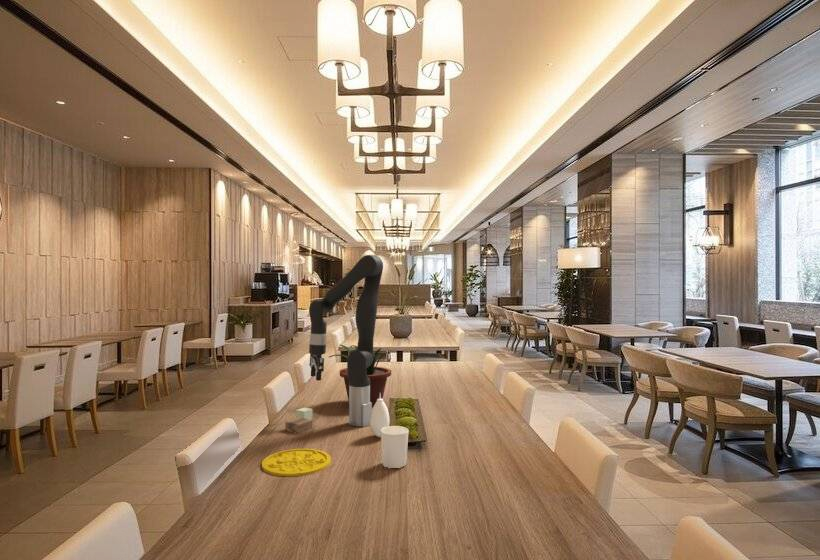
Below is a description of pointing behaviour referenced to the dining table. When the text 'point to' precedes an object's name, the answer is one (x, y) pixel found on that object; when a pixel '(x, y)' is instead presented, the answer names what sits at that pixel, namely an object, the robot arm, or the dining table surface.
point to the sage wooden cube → (304, 413)
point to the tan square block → (299, 425)
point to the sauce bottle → (379, 417)
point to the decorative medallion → (296, 462)
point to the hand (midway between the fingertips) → (315, 378)
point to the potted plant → (370, 377)
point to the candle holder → (394, 446)
